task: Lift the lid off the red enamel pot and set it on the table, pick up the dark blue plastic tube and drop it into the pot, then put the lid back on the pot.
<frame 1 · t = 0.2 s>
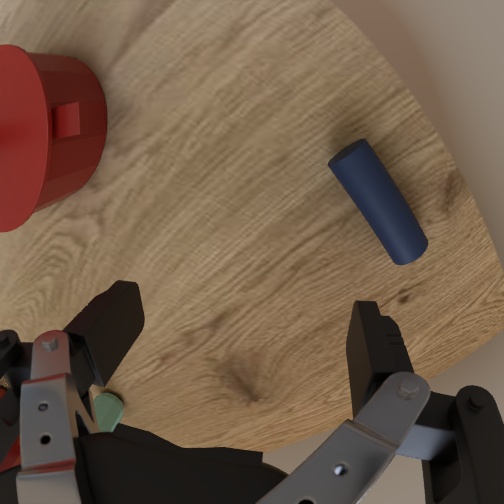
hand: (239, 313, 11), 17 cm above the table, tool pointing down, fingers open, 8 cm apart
tube: (377, 197, 25), on the table
pot: (50, 127, 27), on the table
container: (114, 397, 43), on the table
planter: (24, 416, 57), on the table
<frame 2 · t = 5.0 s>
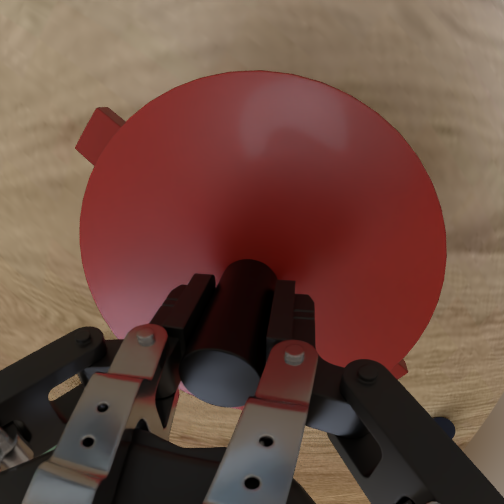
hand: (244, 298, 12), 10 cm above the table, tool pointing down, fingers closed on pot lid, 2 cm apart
tube: (426, 441, 29), on the table, tilted 18°
pot lid: (251, 279, 14), point 9 cm above the table, touching gripper, pot
pot: (270, 218, 21), on the table
when the fingers open (2 cm above the table, at t = 12.3 s): pot lid stays where it is, point 1 cm above the table.
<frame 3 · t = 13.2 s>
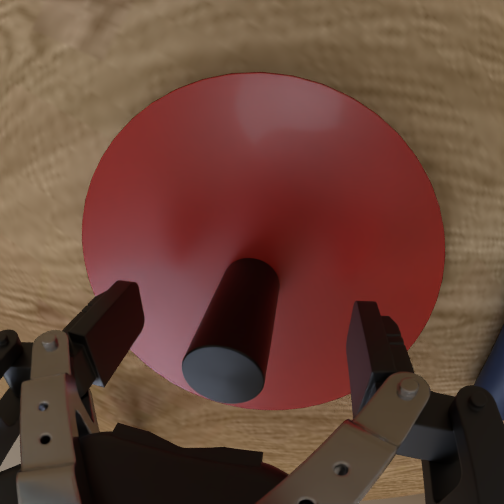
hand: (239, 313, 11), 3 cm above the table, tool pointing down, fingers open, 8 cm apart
pot lid: (252, 277, 14), point 1 cm above the table
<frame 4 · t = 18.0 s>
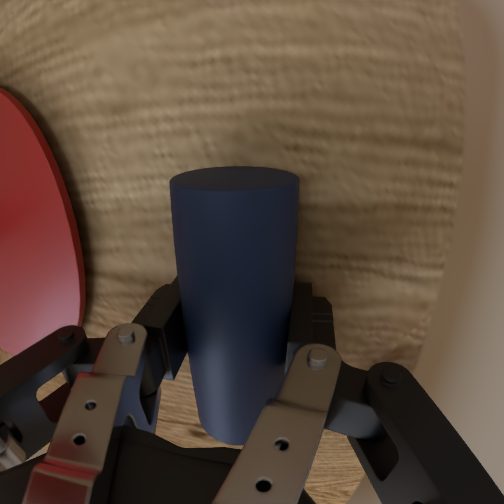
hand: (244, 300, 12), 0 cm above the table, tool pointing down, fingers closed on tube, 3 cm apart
tube: (242, 297, 12), on the table, touching gripper
when the fingers open (6 cm above the table, at t = 26.4 s): tube drops 5 cm, resting on pot.
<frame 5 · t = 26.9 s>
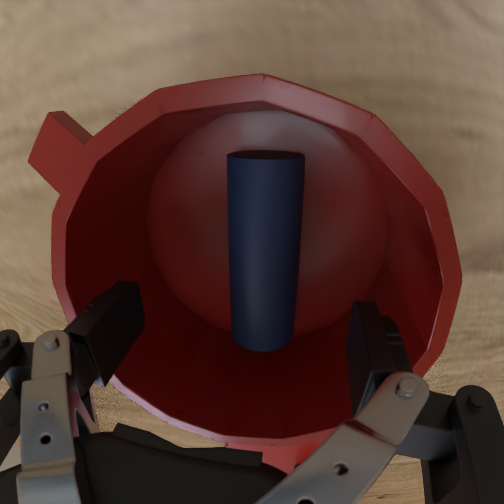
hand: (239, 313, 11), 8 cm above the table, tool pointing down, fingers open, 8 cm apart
tube: (260, 240, 18), point 1 cm above the table, tilted 13°, touching pot
pot lid: (306, 463, 27), point 1 cm above the table
pot: (263, 235, 19), on the table
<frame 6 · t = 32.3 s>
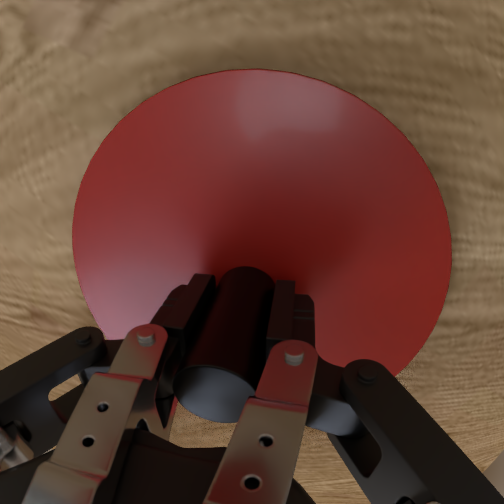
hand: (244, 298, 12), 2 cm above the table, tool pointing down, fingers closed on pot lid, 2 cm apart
pot lid: (249, 286, 13), point 1 cm above the table, touching gripper
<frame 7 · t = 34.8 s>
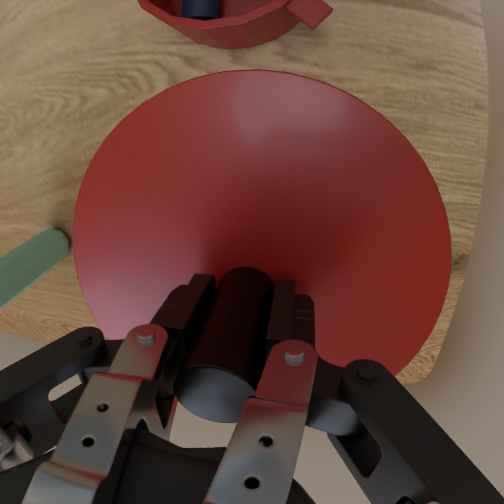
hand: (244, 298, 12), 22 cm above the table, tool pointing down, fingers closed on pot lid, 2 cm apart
pot lid: (249, 287, 13), point 21 cm above the table, touching gripper
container: (61, 240, 39), on the table
when the fingers open (9 cm above the table, at t = 39.5 s): pot lid stays where it is, resting on pot.
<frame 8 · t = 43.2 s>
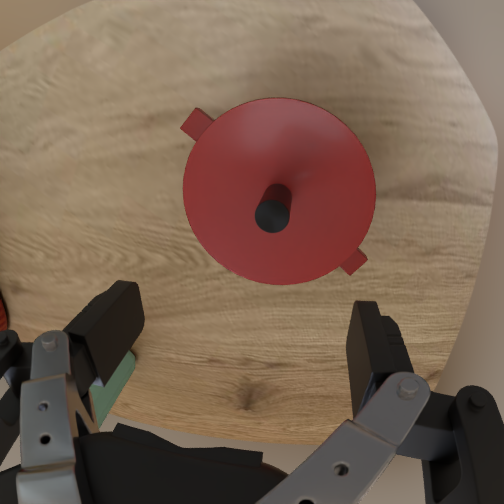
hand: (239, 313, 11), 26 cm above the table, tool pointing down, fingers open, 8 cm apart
pot lid: (278, 195, 27), point 8 cm above the table, touching pot
pot: (282, 177, 35), on the table
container: (127, 353, 51), on the table
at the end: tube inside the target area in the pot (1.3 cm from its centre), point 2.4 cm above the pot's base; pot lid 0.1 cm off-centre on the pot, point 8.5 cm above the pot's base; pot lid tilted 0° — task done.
